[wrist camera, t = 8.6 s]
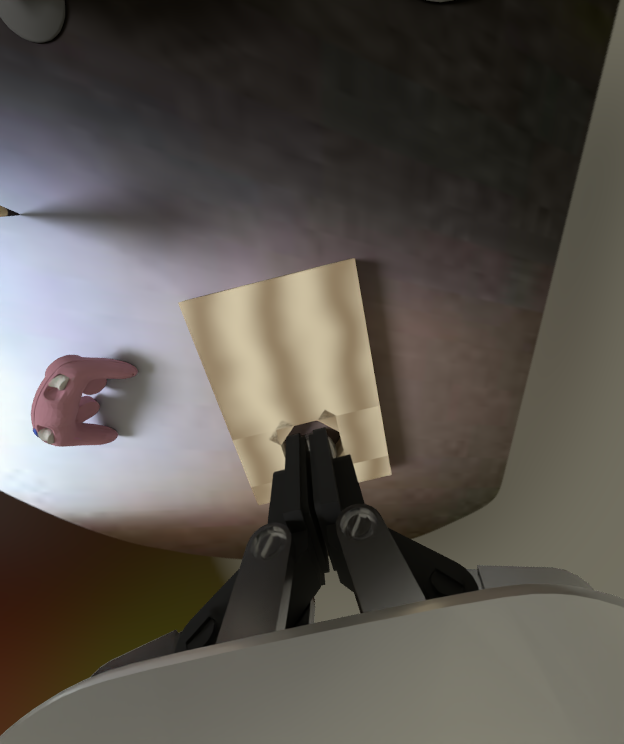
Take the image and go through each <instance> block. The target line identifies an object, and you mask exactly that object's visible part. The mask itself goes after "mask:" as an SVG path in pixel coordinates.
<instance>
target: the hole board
mask: <svg viewBox="0 0 624 744" xmlns="http://www.w3.org/2000/svg"><path fill="white" fill-rule="evenodd" d="M179 306H180V308H181V311H182V314H183V316H184V319H185V321H186V324H187V326H188V329H189V331H190V334H191V336H192V339H193V341H194V344H195V346H196V349H197V351H198V354H199V357H200V359H201V362H202V364H203V367H204V369H205V372H206V374H207V377H208V379H209V382H210V384H211V387H212V389H213V392H214V394H215V397H216V400H217V402H218V405H219V407H220V410H221V412H222V415H223V417H224V420H225V422H226V425H227V427H228V430H229V432H230V435H231V437H232V440H233V442H234V445H235V448H236V450H237V453H238V455H239V458H240V460H241V463H242V465H243V468H244V470H245V473H246V475H247V478H248V480H249V483H250V485H251V488H252V491H253V493H254V496H255V498H256V501H257V503H258V505H261V504H266V503H270V498H271V488H272V479H273V473H274V472H275V471H280V470H284V469H285V454H286V444H285V441H284V440H285V439H286V437H287V436H288V434H289V433H290V431H291V430H292V428H293V427H294V426H296V425H300V424H304V423H308V422H312V421H319V422H321V423H323V424H325V425H327V426H329V427H331V428H333V429H335V430H337V431H338V432H339V434H340V439H339V441H338V442H337V443H336V445H335V446H336V451H337V453H336V457H341V456H345V455H349V454H350V455H351V458H352V462H353V465H354V469H355V472H356V476H357V479H358V482H362V481H366V480H371V479H375V478H379V477H384V476H388V475H391V469H390V463H389V457H388V451H387V445H386V439H385V434H384V428H383V422H382V416H381V410H380V404H379V398H378V392H377V386H376V381H375V375H374V369H373V363H372V357H371V351H370V345H369V339H368V333H367V328H366V322H365V316H364V310H363V304H362V298H361V292H360V286H359V280H358V274H357V269H356V263H355V258H353V259H347V260H343V261H339V262H336V263H332V264H328V265H324V266H320V267H316V268H312V269H308V270H304V271H300V272H296V273H292V274H288V275H284V276H280V277H276V278H272V279H268V280H264V281H260V282H256V283H252V284H248V285H244V286H240V287H236V288H232V289H228V290H224V291H220V292H217V293H213V294H209V295H205V296H201V297H197V298H193V299H189V300H185V301H182V302H179Z"/></svg>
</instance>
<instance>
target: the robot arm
mask: <svg viewBox="0 0 624 744" xmlns="http://www.w3.org/2000/svg"><path fill="white" fill-rule="evenodd" d="M428 1H436V2H445V1H452V0H428ZM309 448H310V451H309ZM327 550H328V552H327ZM328 553H329V557H330V560H331V563H332V566H333V569H334V571H336V570H337V573H338V576H339V579H340V582H341V583H342V584H343V585H344V586H346V587H347V588H349V589H350V590H351V591H353V592H354V594H355V598H356V601H357V604H358V607H359V610H360V614H356V615H351V616H347V617H342V618H337V619H333V620H328V621H323V622H318V623H314V617H315V598H314V596H315V595H316V593H317V592H318V590H319V589H320V587H321V585H325V577H324V573H327V572H329V561H328ZM0 744H624V598H620V597H618V596H614V595H611V594H608V593H604V592H600V591H595V590H594V589H593V588H592V587H591V586H590V585H589V584H588V583H587V582H586V581H584V580H583V579H582V578H580V577H579V576H577V575H575V574H573V573H571V572H569V571H566V570H563V569H558V568H548V567H547V568H546V567H514V566H480V565H478V566H477V569H466V568H464V567H463V566H461V565H460V564H458V563H457V562H455V561H453V560H451V559H449V558H447V557H444V556H443V555H441V554H439V553H437V552H435V551H433V550H431V549H429V548H427V547H425V546H423V545H421V544H419V543H417V542H415V541H413V540H411V539H409V538H407V537H405V536H403V535H401V534H399V533H397V532H395V531H393V530H391V529H389V528H387V526H386V524H385V522H384V520H383V519H382V517H381V515H380V514H379V512H378V511H377V510H376V509H375V508H373V507H372V506H369V505H366V504H364V500H363V497H362V493H361V490H360V486H359V483H358V479H357V476H356V472H355V469H354V465H353V462H352V458H351V455H350V454H349V455H345V456H341V457H336V458H333V455H332V451H331V447H330V443H329V440H328V436H327V432H326V428H321V429H316V430H313V434H310V435H309V447H308V444H307V440H306V437H305V436H302V437H301V436H300V434H295V435H291V436H287V437H286V454H285V469H284V470H280V471H275V472H274V473H273V479H272V488H271V498H270V507H269V516H268V524H266V525H264V526H262V527H261V528H259V529H258V530H257V531H256V532H255V533H254V534H253V535H252V536H251V538H250V540H249V542H248V544H247V547H246V550H245V553H244V556H243V559H242V563H241V566H240V569H239V570H238V571H237V572H236V573H235V574H234V575H233V576H232V577H231V578H230V579H229V580H228V581H227V582H226V583H225V584H224V585H223V586H222V587H221V589H220V590H219V591H218V592H217V593H216V594H215V595H214V596H213V597H212V598H211V599H210V600H209V601H208V602H207V603H206V604H205V605H204V607H203V608H202V609H201V610H200V611H199V612H198V613H197V614H196V615H195V616H194V617H193V618H192V619H191V620H190V622H189V623H188V624H187V625H186V627H185V628H184V630H183V631H182V632H180V633H178V632H177V631H176V630H174V631H173V632H170V633H168V634H166V635H164V636H162V637H160V638H158V639H156V640H153V641H151V642H149V643H147V644H145V645H143V646H141V647H139V648H136V649H134V650H132V651H130V652H128V653H126V654H124V655H122V656H120V657H118V658H115V659H113V660H111V661H109V662H108V663H106V664H105V665H103V666H102V667H100V668H99V669H98V670H97V671H96V672H95V673H94V674H93V675H92V676H91V677H90V678H88V679H86V680H84V681H82V682H80V683H78V684H76V685H74V686H72V687H70V688H68V689H66V690H64V691H62V692H60V693H58V694H57V695H55V696H54V697H52V698H50V699H49V700H47V701H46V702H44V703H43V704H41V705H40V706H38V707H36V708H35V709H33V710H32V711H31V712H29V713H28V714H27V715H25V716H24V717H23V718H21V719H20V720H19V721H18V722H16V723H15V724H14V725H13V726H12V727H10V728H9V729H8V730H6V732H4V733H3V734H2V736H0Z"/></svg>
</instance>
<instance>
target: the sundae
mask: <svg viewBox="0 0 624 744" xmlns="http://www.w3.org/2000/svg"><path fill="white" fill-rule="evenodd" d="M0 17H1V18H2V20H3V21H4V22H5V24H6V25H7V26H8V27H9V28H10V29H11V30H12V31H13V32H15V33H16V34H17V35H19V36H20V37H22V38H23V39H26V40H28V41H31V42H36V43H43V42H47V41H51V40H52V39H53V38H55V37H56V36H57V35H58V34H59V32H60V31H61V29H62V26H63V23H64V19H65V1H64V0H0Z"/></svg>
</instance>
